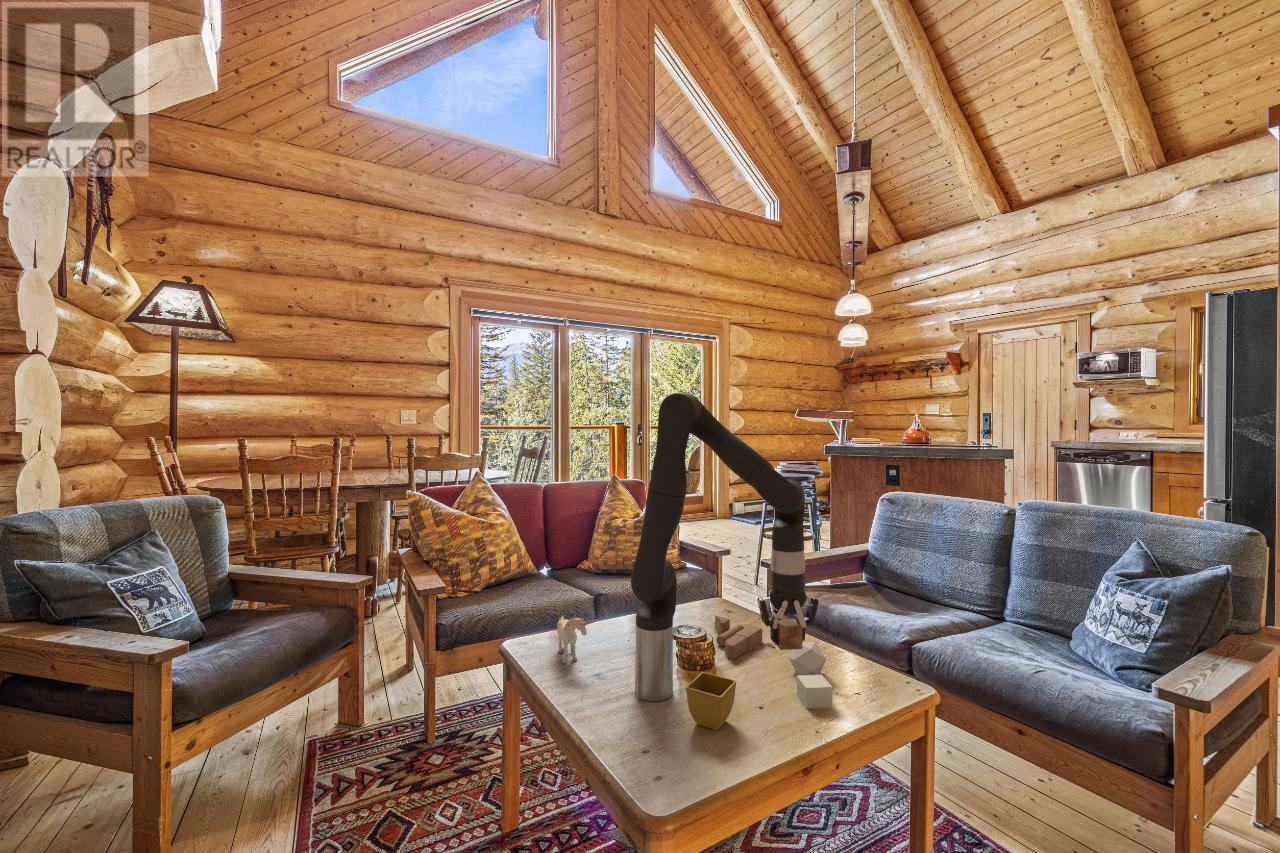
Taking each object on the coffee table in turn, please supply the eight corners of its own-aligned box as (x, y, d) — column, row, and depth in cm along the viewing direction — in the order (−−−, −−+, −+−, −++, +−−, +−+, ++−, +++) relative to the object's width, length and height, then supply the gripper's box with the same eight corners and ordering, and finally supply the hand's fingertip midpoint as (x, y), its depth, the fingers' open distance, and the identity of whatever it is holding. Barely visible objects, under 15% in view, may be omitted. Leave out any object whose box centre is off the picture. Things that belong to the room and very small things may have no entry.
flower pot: (721, 738, 121) (721, 696, 121) (684, 726, 126) (685, 686, 126) (737, 719, 129) (737, 680, 129) (702, 708, 133) (702, 671, 133)
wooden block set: (764, 624, 173) (734, 642, 159) (764, 642, 173) (734, 662, 159) (716, 611, 184) (685, 627, 170) (716, 628, 184) (684, 646, 170)
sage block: (805, 708, 134) (806, 688, 134) (796, 695, 140) (796, 675, 140) (832, 707, 134) (832, 687, 134) (821, 694, 141) (822, 674, 140)
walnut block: (780, 649, 126) (780, 627, 126) (773, 641, 131) (773, 619, 131) (802, 649, 126) (802, 626, 126) (794, 640, 131) (794, 618, 131)
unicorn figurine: (576, 675, 151) (576, 625, 151) (543, 650, 167) (543, 605, 166) (599, 667, 155) (599, 619, 155) (565, 644, 171) (564, 600, 171)
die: (819, 687, 145) (835, 651, 148) (788, 668, 147) (804, 632, 150) (809, 684, 153) (825, 650, 156) (779, 665, 155) (796, 632, 158)
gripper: (761, 574, 124) (761, 651, 124) (825, 572, 125) (825, 648, 126) (752, 565, 132) (752, 637, 132) (811, 563, 133) (811, 635, 133)
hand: (787, 642), depth 129 cm, fingers closed on walnut block, 5 cm apart
